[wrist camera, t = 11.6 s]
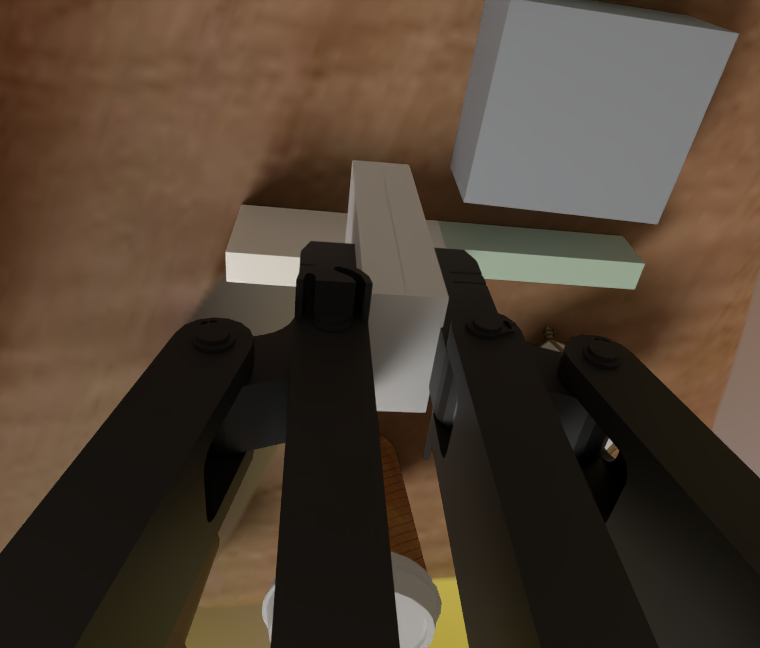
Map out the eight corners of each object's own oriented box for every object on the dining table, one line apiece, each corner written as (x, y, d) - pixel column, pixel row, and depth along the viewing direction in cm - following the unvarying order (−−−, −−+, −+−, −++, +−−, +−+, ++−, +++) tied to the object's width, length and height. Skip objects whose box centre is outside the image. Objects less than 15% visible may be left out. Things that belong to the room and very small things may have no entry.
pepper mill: (236, 544, 47) (210, 701, 38) (175, 573, 48) (136, 730, 39) (180, 501, 44) (137, 660, 34) (117, 533, 45) (60, 693, 36)
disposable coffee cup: (444, 475, 43) (474, 647, 33) (328, 523, 46) (323, 697, 36) (377, 386, 38) (388, 557, 29) (250, 444, 41) (220, 621, 31)
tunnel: (241, 231, 32) (226, 281, 28) (235, -160, 23) (211, -172, 19) (613, 260, 34) (650, 311, 30) (741, -89, 25) (819, -86, 21)
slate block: (449, 165, 31) (463, 202, 27) (487, -17, 26) (510, -2, 23) (621, 185, 32) (657, 224, 28) (686, 14, 27) (739, 33, 24)
